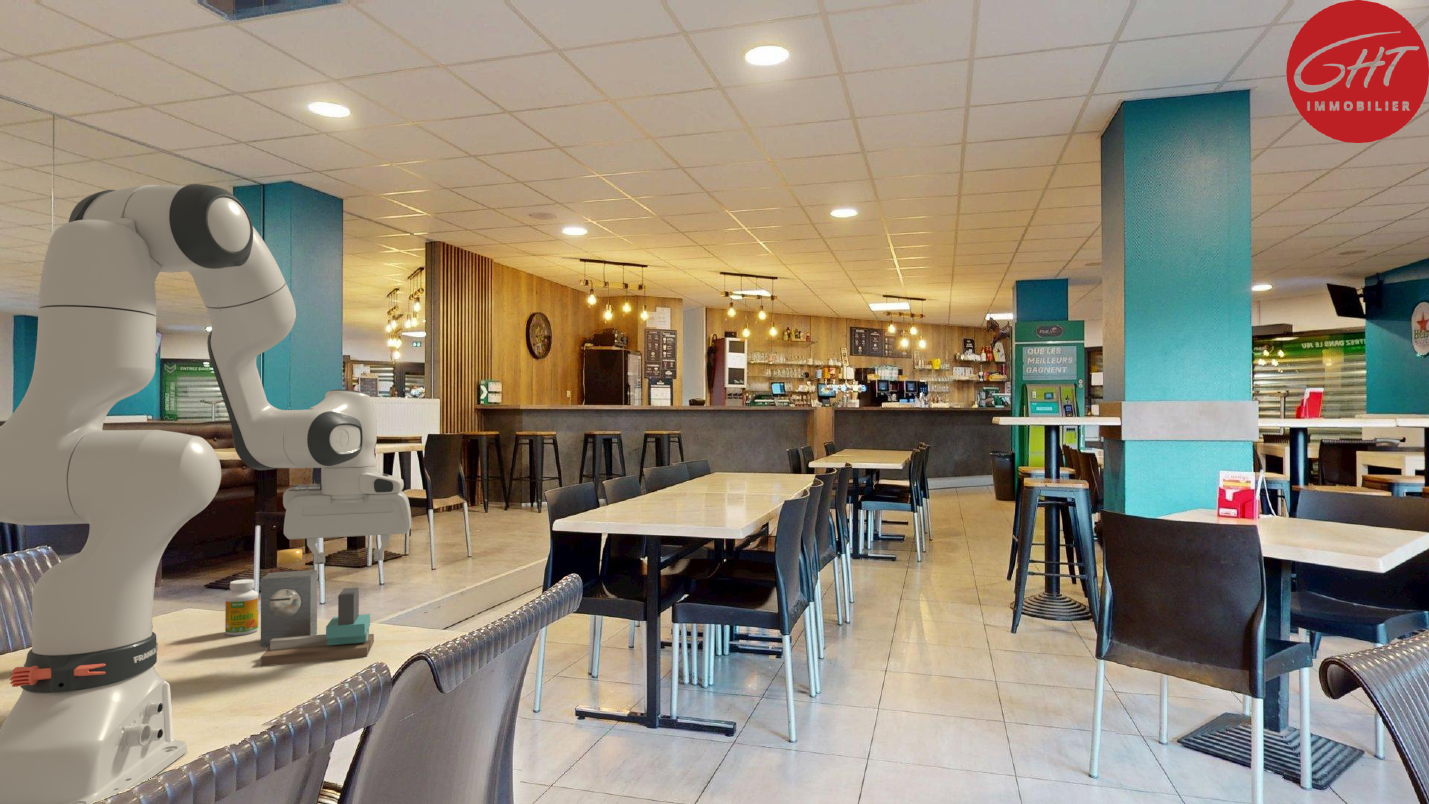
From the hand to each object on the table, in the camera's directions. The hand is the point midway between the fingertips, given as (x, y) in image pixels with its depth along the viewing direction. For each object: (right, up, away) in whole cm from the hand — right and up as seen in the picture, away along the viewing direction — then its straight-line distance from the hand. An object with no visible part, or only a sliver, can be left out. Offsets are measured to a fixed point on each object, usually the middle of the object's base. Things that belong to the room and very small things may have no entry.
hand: (349, 561), depth 136 cm
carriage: (0, -14, -1) cm, 14 cm away
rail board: (-4, -15, -2) cm, 16 cm away
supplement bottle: (-26, -16, +12) cm, 33 cm away
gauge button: (-14, -2, +7) cm, 16 cm away
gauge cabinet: (-14, -16, +6) cm, 22 cm away
